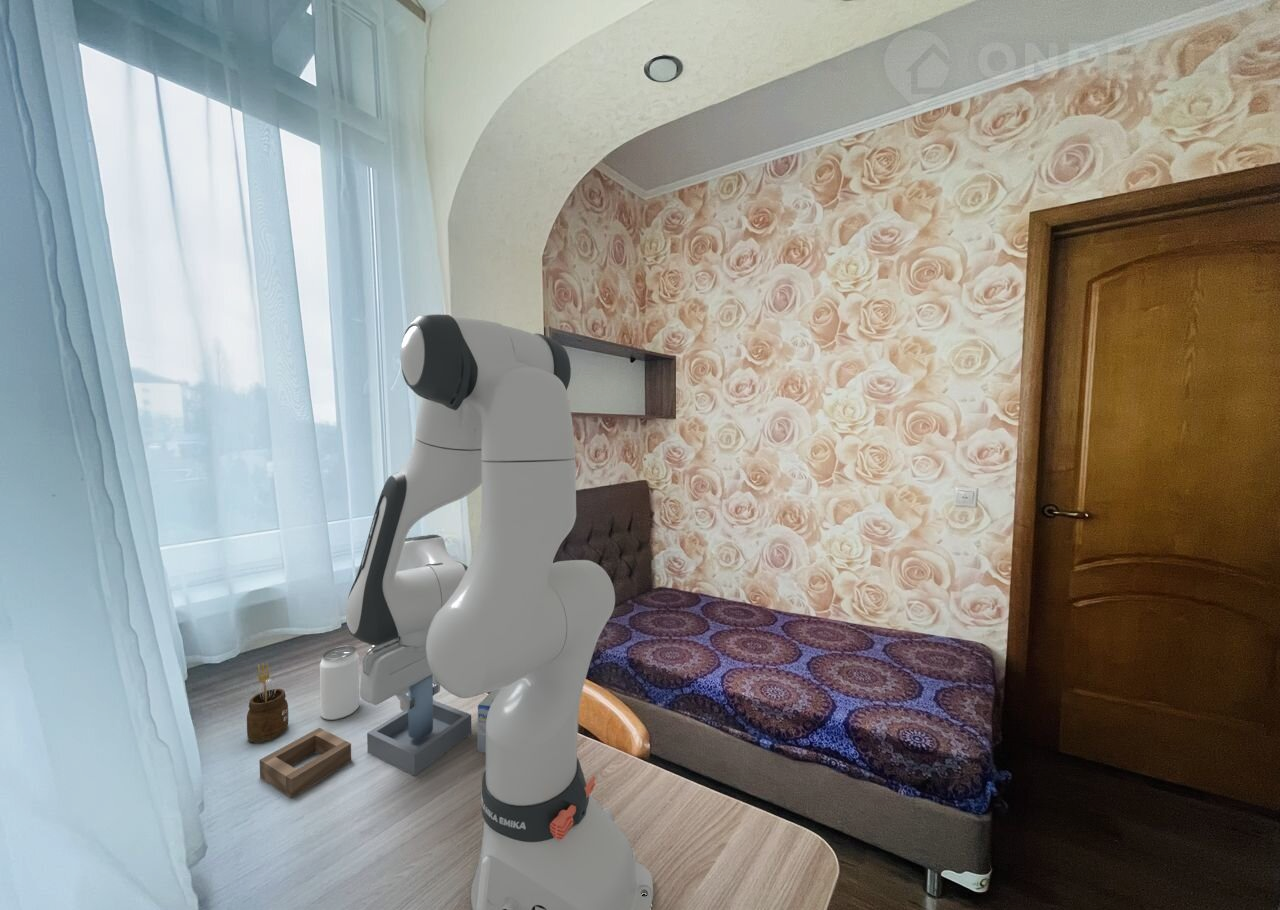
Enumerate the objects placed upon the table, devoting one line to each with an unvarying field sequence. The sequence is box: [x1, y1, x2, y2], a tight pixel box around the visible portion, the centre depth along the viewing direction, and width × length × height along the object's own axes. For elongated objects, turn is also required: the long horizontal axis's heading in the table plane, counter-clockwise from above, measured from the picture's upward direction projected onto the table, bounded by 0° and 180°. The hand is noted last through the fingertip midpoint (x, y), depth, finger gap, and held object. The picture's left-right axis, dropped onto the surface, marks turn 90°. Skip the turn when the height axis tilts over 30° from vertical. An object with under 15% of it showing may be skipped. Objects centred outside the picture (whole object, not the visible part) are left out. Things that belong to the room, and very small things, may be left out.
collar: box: [259, 727, 352, 799], centre depth 75 cm, size 9×9×3 cm
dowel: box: [407, 674, 434, 739], centre depth 82 cm, size 4×4×10 cm
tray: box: [366, 699, 472, 777], centre depth 82 cm, size 12×12×4 cm
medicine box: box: [477, 688, 501, 754], centre depth 83 cm, size 8×4×9 cm, turn 168°
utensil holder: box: [246, 661, 289, 744], centre depth 84 cm, size 6×6×12 cm
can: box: [319, 645, 360, 721], centre depth 91 cm, size 6×6×12 cm
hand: (420, 700), depth 82 cm, fingers closed on dowel, 4 cm apart
